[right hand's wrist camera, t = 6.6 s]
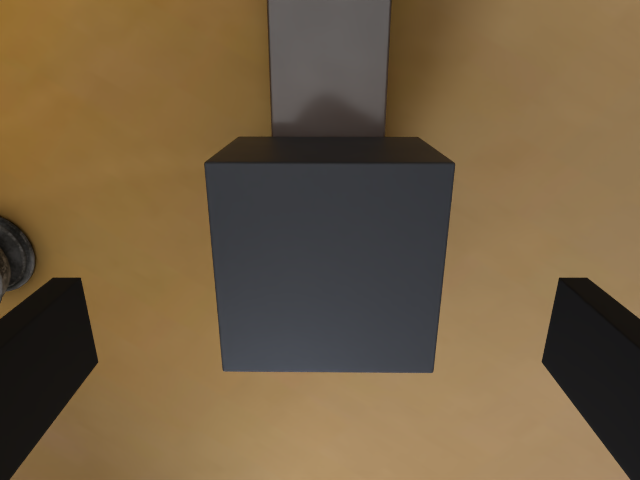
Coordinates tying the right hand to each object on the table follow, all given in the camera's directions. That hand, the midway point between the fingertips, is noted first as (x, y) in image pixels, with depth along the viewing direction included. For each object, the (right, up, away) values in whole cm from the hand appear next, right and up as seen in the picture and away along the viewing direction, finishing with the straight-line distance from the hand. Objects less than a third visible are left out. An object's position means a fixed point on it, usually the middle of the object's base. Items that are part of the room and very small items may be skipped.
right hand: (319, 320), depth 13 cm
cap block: (0, +3, +9) cm, 9 cm away
